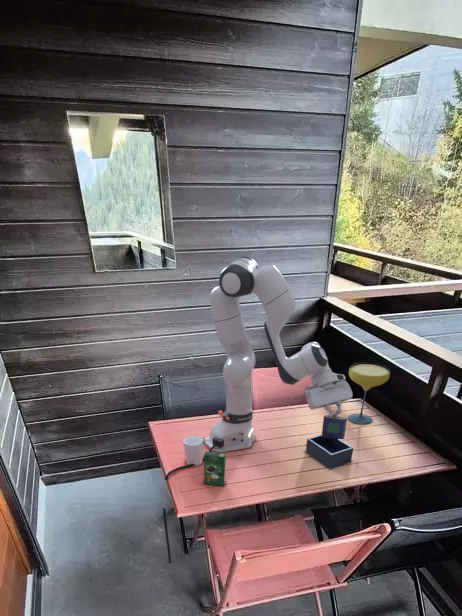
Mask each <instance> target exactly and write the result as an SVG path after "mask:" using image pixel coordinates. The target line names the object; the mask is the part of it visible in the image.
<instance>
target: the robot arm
mask: <svg viewBox="0 0 462 616" xmlns="http://www.w3.org/2000/svg"><path fill="white" fill-rule="evenodd" d="M218 284H219V285H216V286H215V287H214V288H213V289H212V290H211V291H210V294H209V301H210V302H209V303H210V310H211V315H212V319H213V320H212V321H213V323H214V327H215V331H216V334H217V338H218V342H219V343H220V344H221V345H222V348H223V350H224V353H225V355H226V361H225V363H224V365H223V367H222V377H223V382H224V387H225V388H224V389H225V409H224V411H222V409H221V410H218V411H217V414H218V415H219V416H220V417H221V419H220V420H218V421H217V422H216V423H215V424H214V425H213V426H212V427H211V428H210V431H209V435H208V436H206V437H205V438H204V444H205V445H206V447H207V448H209V450H208V452H215V453H226V452H227V453H228V452H232V451H238V450H239V451H240V450H244V449H250V448H252V444H253V443H254V441H255V436H254V432H253V431H254V428H253V415H254V413H253V412H254V411H253V390H252V374H253V370H254V368H255V366H256V355H255V352H254V350H253V347H252V344H251V341H250V339H249V337H248V334H247V331H246V326H245V322H244V318H243V317H244V316H243V313H242V309H241V304H240V298H241V297H244V296H248V295H251V294H252V293H253V294H255V295H256V296H257V298H258V299H259V301H260V303H261V306H262V307H263V309H264V311H265V321H264V323H263V328H264V333H265V335H266V339H267V343H268V344H269V347H270V350H271V353H272V356H273V359H274V361H275V362H274V363H275V365H276V369H277V373H278V376H279V378H280V380H281V381H282V383H283V384H286V385H290V386H294V385H296V384H297V383H298V382H301V380H303V379H305V378H306V377H309V379H310V382H311V385H307V386H305V388H304V391H303V392H304V395H305V397H306V398H305V399H306V402H307V405H308V408H309V409H310V410H311V411H314V410H318V409H321V408H324V410H325V411H326V412H328V414H329V415H330V416H334V415H335V414H336V413H338V414H337V415H341V414H343V410H342V405H343V402H347V401H349V400H351V399H352V398H353V390H352V388H351V386H350V384H349V383H348V382H347V381H346V379H347V378H346V376H345V375H344V374H340V373H335V372H333V370H332V369H331V367H330V365H329V358H328V355H327V354H326V351H325V348H323V347H322V346H321V345H320V343H318V342H317V341H311V342H308V343H306V344H304V345H303V346H302V348H301V349H300V350H299V351H298V352H296V353H294V354H292V355H291V356H288V357H287V356H286V352H285V350H284V347H283V344H282V341H281V337H280V335H281V334H280V333H281V331H282V329H283V328H284V326H285V325H286V324H287V323H288V321H289V320H290V319H291V318H292V316H293V314H294V312H295V309H296V300H295V296H294V294H293V292H292V290H291V288H290V286H289V283H288V282H287V281H286V279H285V277H284V276H283V275H282V273H281V271H280V270H279V269H278V268H277V266H276V265H274V264H271V263H270V264H264V265H262V266H260V267H259V265H258V264H257V262H256V261H255V260H254V259H253V258H251V257H249V256H240V257H238V258H236V259H234V260H232V261H230V262H229V264H228V265H226V266H225V267H224V268H223V269H222V270H221V272H220V274H219V278H218ZM332 405H335V407H336V410H335V409H333V408H331V406H332ZM203 462H204V457H203ZM194 465H195V464H190V465H188V464H186V465H181V466H178V467H176V468H174V469H171V470H170V471H168V472H167V474H166V475H165V477H164V479H163V480H164V481H167V480H168V479H169V477H170V475H172V474H173V473H175V472H177V471H180V470H184V469H188V468H191V467H195V466H194ZM166 512H167V511H166V508H164V507H162V514H163V525H164V532H165V540H166V541H165V542H166V548H167V557H168V564H172V557H171V548H170V540H169V531H168V522H167V513H166Z"/></svg>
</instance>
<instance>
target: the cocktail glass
mask: <svg viewBox="0 0 462 616" xmlns="http://www.w3.org/2000/svg"><path fill="white" fill-rule="evenodd" d="M348 376H349V378H350V379H351V381H352V382H354V383H355V384H357V385H359V386H361V387H362V389H363V390H364V394H363V399H362V404H361V409H360V412H359V413H353V414H350V415H349V416H348V420H349V421H350V422H351V423H354V424H358V425H367V424H370V423H371V422H372V418H371V417H370V415H369V416H368V415H367V414H363V413H364V411H363V410H364V405H365V399H366V396H367V395H366V394H367V391H369V390H370V389H371V388H375V387H378V386H381V385H383V384H385V383H387V382H388V381H389V379H390V377H391V370H390V369H389V367H387V366H385V365H383V364H380V363H375V362H356V363H352V365H350V367H349V370H348Z"/></svg>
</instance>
